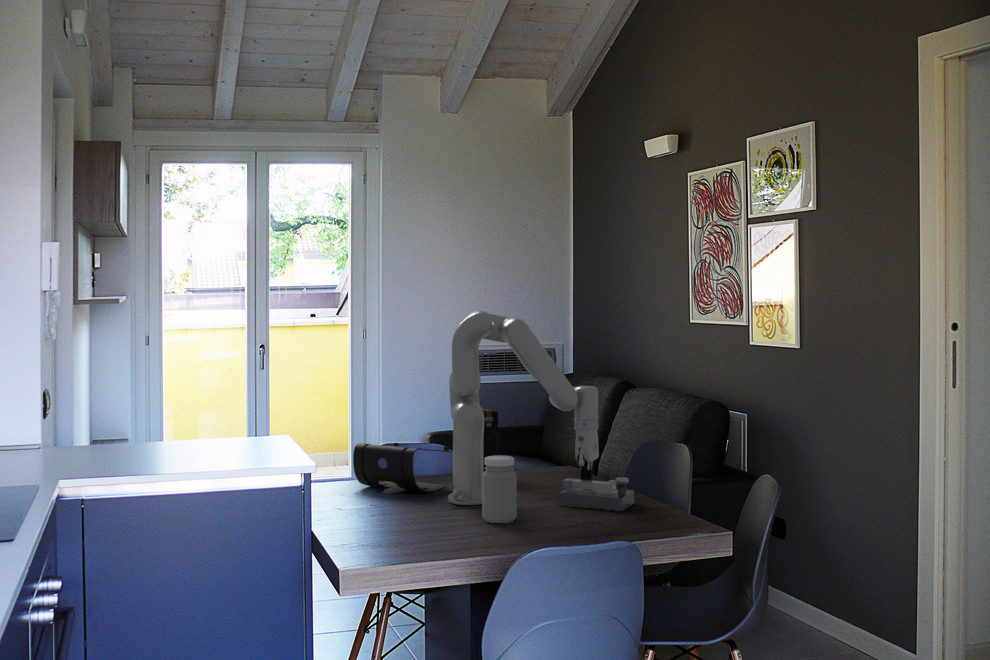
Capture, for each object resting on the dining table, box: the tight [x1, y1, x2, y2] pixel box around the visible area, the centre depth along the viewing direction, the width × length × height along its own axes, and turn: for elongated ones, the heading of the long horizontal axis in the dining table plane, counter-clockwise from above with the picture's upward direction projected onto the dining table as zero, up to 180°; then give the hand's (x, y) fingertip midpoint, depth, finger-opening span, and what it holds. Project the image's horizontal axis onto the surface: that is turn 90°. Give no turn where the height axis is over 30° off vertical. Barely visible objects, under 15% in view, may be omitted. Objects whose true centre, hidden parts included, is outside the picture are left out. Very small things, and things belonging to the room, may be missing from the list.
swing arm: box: [562, 476, 630, 492], centre depth 278 cm, size 4×20×4 cm, turn 65°
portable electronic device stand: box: [352, 442, 452, 495], centre depth 304 cm, size 26×24×16 cm
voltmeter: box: [481, 407, 499, 473], centre depth 324 cm, size 16×9×25 cm, turn 25°
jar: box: [481, 454, 518, 524], centre depth 255 cm, size 10×10×18 cm
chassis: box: [558, 483, 635, 512], centre depth 278 cm, size 13×20×7 cm, turn 65°
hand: (586, 482), depth 287 cm, fingers closed
